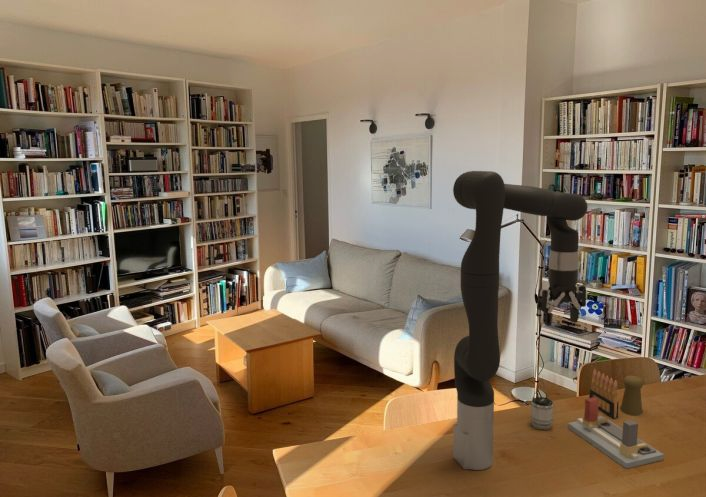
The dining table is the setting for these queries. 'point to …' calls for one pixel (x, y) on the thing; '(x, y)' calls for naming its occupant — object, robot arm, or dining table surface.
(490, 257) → the robot arm
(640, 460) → the grey slider track base
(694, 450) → the dining table surface
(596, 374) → the ammunition clip
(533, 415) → the camera lens
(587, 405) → the red slider with pointer
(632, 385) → the olive pepper mill
